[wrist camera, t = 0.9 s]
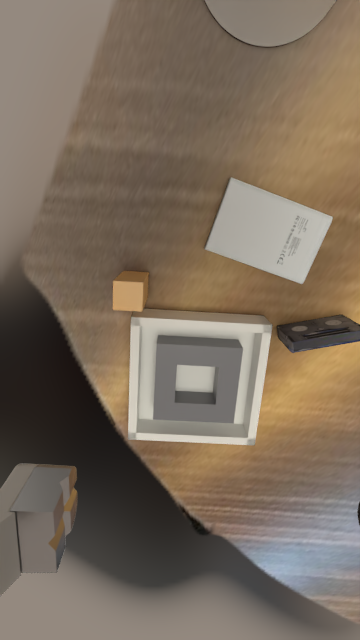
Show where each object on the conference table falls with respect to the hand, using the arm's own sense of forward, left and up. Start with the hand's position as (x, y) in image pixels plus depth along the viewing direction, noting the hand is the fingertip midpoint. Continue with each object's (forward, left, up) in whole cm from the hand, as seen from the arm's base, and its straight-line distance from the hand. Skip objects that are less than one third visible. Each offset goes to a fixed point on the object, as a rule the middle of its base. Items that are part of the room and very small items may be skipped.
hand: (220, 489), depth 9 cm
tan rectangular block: (0, -6, -33) cm, 33 cm away
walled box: (+11, +2, -32) cm, 34 cm away
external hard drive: (-6, +9, -33) cm, 35 cm away
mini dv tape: (+4, +16, -33) cm, 37 cm away
